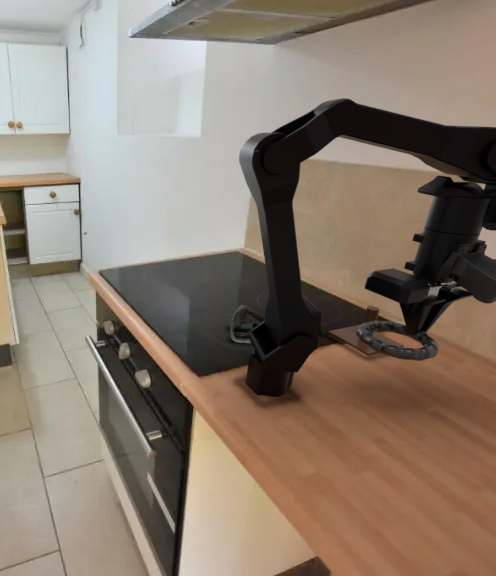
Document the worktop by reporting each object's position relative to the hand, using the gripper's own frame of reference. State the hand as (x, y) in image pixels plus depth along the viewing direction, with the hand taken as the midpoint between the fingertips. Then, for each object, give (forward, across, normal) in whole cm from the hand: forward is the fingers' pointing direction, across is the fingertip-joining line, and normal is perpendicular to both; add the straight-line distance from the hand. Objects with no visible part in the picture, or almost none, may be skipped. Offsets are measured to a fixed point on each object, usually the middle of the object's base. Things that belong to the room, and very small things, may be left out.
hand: (416, 333), depth 56 cm
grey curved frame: (+11, -9, +23) cm, 27 cm away
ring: (0, -4, 0) cm, 4 cm away
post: (+11, +9, +14) cm, 20 cm away
